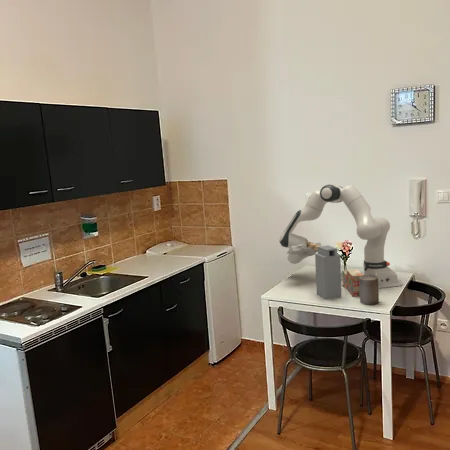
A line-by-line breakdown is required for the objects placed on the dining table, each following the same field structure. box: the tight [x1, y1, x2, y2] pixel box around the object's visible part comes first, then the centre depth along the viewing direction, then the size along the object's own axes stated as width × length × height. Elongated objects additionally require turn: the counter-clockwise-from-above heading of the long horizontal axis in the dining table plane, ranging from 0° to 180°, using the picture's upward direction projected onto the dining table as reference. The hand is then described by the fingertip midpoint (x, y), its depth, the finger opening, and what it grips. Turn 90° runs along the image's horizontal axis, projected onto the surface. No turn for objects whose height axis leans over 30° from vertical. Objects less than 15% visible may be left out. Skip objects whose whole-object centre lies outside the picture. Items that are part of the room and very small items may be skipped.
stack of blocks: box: [342, 268, 364, 298], centre depth 259 cm, size 21×6×12 cm, turn 0°
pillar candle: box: [359, 274, 380, 306], centre depth 238 cm, size 10×10×15 cm
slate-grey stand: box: [314, 245, 342, 300], centre depth 251 cm, size 10×10×28 cm
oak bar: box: [305, 241, 319, 251], centre depth 262 cm, size 22×3×3 cm, turn 17°
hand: (309, 244), depth 269 cm, fingers closed on oak bar, 3 cm apart
